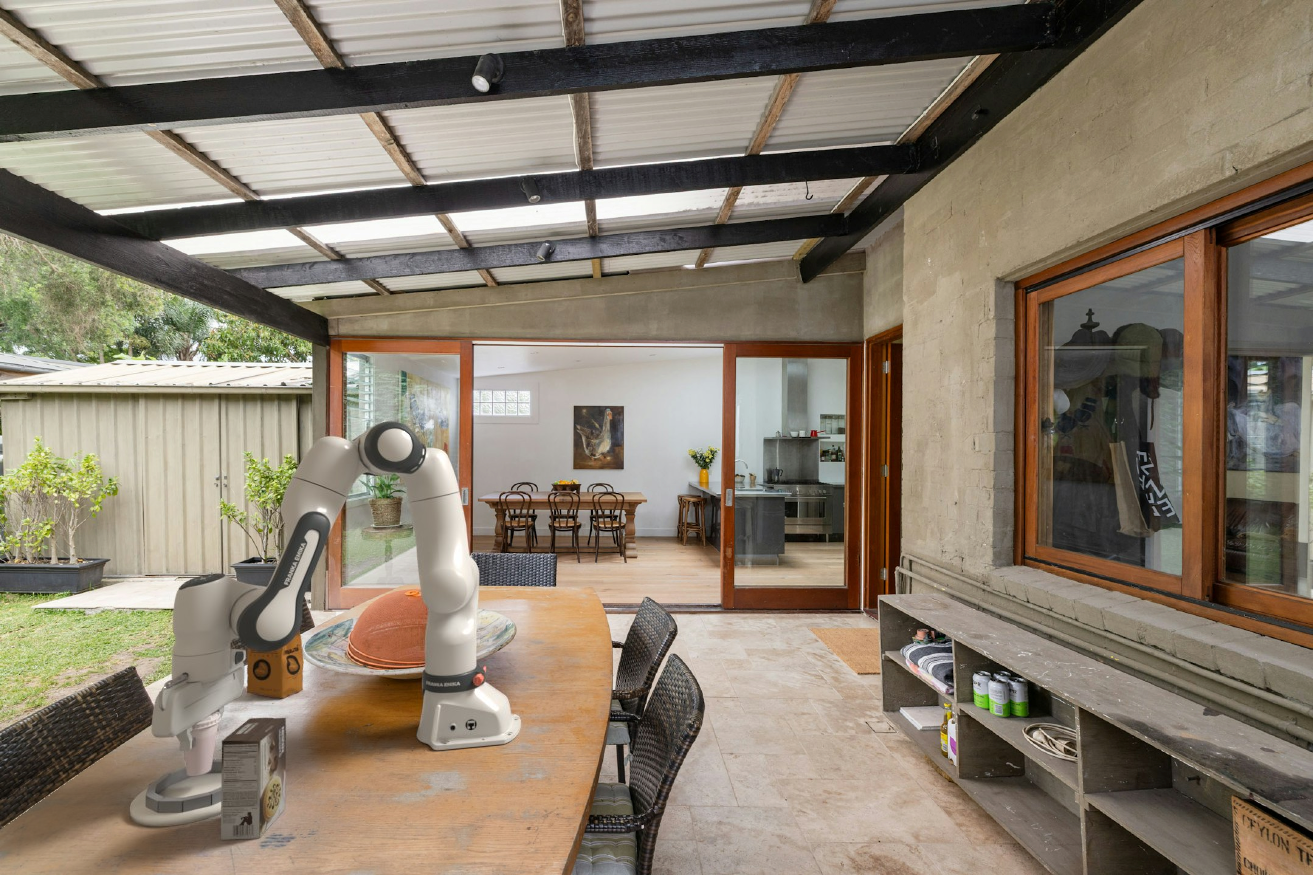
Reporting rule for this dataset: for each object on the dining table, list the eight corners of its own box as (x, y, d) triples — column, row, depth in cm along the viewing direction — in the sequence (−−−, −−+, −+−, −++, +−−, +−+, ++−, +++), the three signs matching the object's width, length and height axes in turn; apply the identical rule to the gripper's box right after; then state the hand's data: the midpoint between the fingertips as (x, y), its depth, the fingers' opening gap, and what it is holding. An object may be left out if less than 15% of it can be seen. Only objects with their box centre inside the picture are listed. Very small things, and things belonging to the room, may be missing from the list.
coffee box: (248, 810, 115) (249, 717, 115) (287, 808, 116) (288, 715, 116) (218, 841, 106) (219, 740, 106) (260, 839, 107) (261, 738, 107)
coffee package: (278, 702, 164) (279, 613, 164) (240, 697, 168) (241, 610, 168) (310, 688, 174) (311, 605, 174) (273, 683, 177) (274, 601, 178)
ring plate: (285, 767, 130) (285, 752, 130) (221, 825, 110) (221, 807, 110) (182, 769, 130) (182, 753, 130) (99, 827, 110) (99, 809, 110)
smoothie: (198, 781, 116) (199, 701, 117) (168, 777, 118) (169, 698, 118) (228, 764, 123) (229, 688, 123) (199, 761, 124) (201, 686, 124)
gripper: (179, 685, 110) (177, 768, 110) (251, 648, 131) (250, 718, 130) (141, 685, 110) (139, 768, 110) (219, 648, 131) (218, 718, 130)
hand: (200, 740), depth 120 cm, fingers closed on smoothie, 5 cm apart
